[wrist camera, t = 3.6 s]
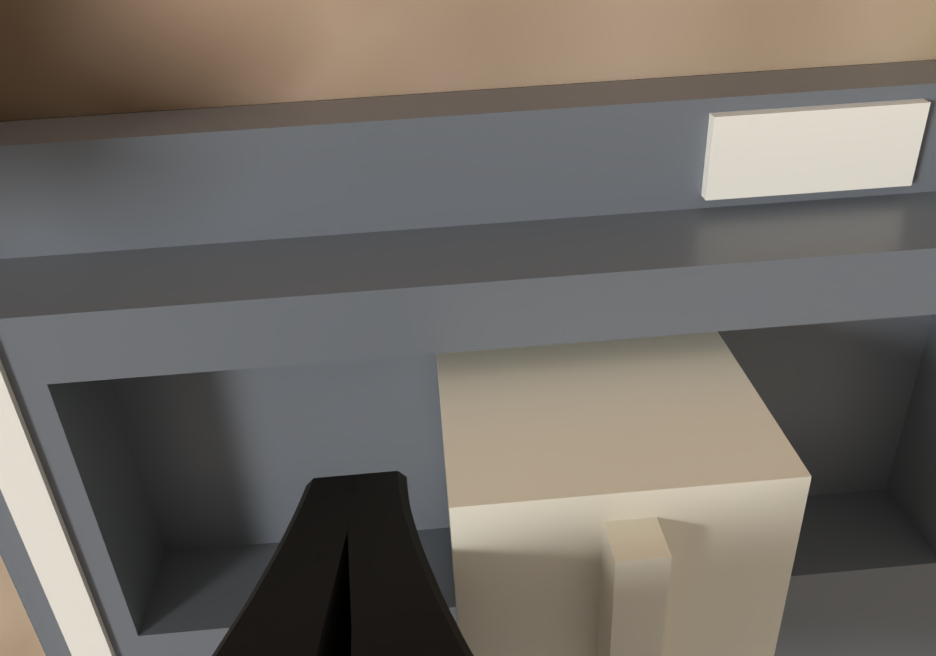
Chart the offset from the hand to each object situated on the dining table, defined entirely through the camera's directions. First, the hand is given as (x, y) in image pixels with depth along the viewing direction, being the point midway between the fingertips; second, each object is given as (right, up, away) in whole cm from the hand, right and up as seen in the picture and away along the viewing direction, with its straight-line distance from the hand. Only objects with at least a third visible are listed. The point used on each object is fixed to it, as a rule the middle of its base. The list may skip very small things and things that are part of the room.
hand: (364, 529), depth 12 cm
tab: (+3, +1, +2) cm, 4 cm away
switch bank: (+3, -1, +5) cm, 6 cm away
